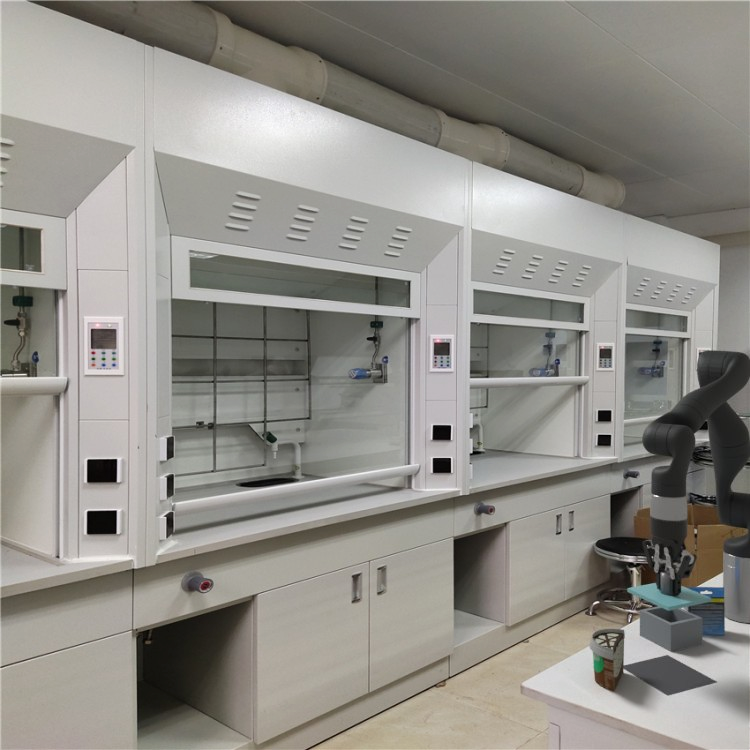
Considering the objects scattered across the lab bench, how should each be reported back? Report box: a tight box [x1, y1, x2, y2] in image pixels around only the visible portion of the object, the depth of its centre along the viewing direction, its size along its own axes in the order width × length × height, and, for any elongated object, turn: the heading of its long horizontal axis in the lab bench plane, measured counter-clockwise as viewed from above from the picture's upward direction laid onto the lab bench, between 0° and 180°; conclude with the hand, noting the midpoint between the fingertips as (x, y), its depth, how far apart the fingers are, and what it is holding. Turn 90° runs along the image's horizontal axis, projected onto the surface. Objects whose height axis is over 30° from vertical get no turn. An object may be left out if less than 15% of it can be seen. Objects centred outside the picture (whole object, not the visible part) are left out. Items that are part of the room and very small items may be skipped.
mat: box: [623, 654, 718, 696], centre depth 152 cm, size 14×14×1 cm
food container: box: [588, 628, 626, 692], centre depth 150 cm, size 12×6×10 cm, turn 149°
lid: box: [626, 570, 711, 611], centre depth 152 cm, size 12×12×5 cm
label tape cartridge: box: [682, 586, 726, 636], centre depth 175 cm, size 9×4×12 cm, turn 84°
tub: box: [639, 605, 703, 653], centre depth 169 cm, size 10×10×7 cm
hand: (668, 591), depth 152 cm, fingers closed on lid, 3 cm apart
